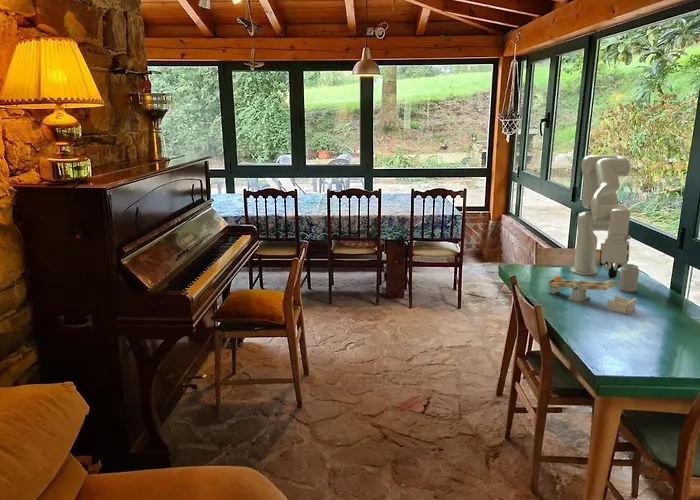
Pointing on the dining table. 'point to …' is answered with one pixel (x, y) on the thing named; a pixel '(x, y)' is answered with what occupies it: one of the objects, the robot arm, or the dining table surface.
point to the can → (629, 278)
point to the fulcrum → (577, 293)
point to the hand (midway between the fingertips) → (612, 277)
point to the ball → (557, 279)
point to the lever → (584, 284)
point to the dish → (622, 305)
